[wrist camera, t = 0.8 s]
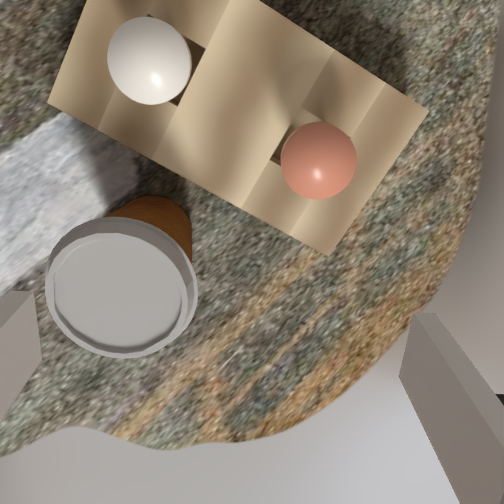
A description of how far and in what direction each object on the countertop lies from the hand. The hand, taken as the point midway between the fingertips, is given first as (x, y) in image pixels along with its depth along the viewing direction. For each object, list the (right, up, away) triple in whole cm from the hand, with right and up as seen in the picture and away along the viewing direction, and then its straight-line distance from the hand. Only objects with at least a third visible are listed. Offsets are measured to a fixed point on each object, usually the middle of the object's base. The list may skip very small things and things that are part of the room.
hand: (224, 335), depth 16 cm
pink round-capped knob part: (+5, +10, +16) cm, 19 cm away
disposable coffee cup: (-7, +5, +23) cm, 25 cm away
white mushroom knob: (-5, +15, +13) cm, 21 cm away
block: (0, +14, +19) cm, 24 cm away
